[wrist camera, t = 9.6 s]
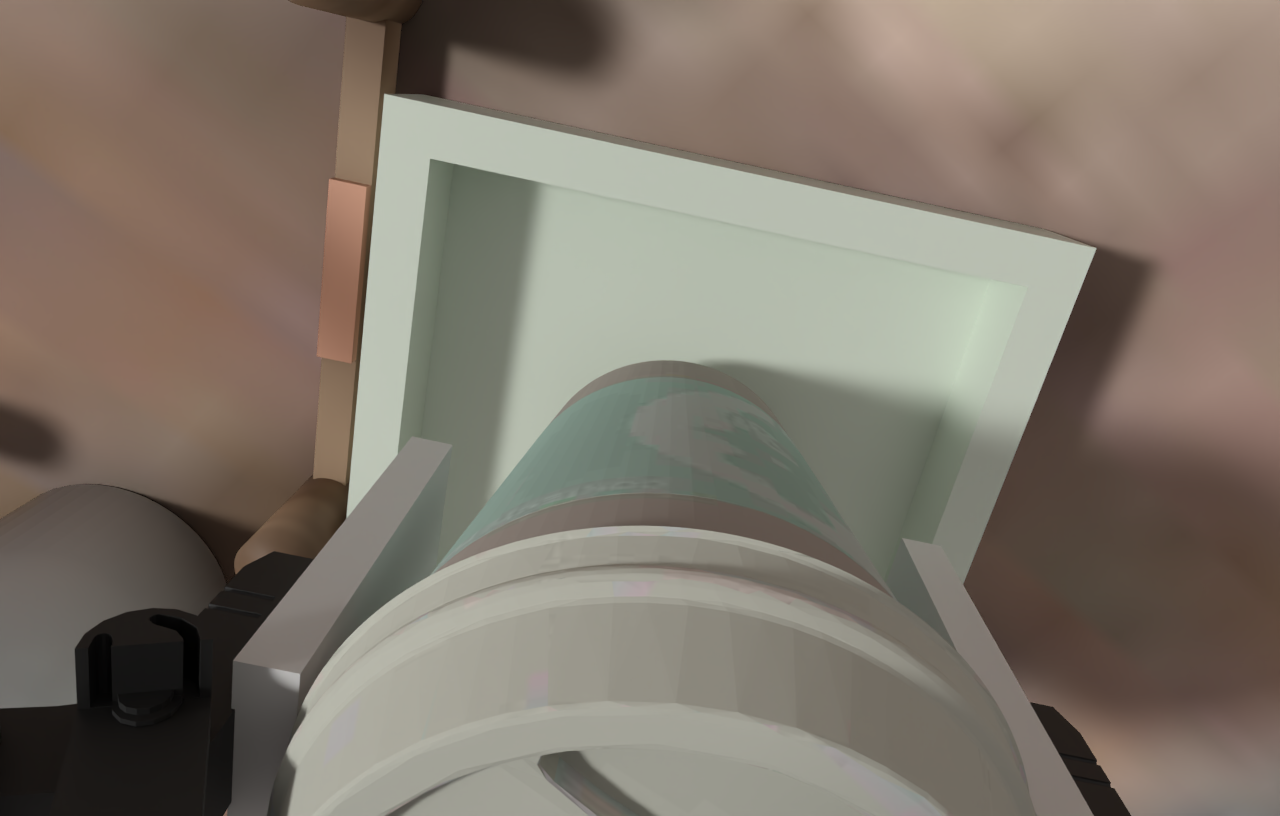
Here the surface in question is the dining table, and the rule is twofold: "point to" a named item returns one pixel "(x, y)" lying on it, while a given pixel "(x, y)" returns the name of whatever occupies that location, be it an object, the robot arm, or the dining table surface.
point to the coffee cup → (652, 644)
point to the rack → (342, 276)
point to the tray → (698, 313)
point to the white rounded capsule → (87, 580)
